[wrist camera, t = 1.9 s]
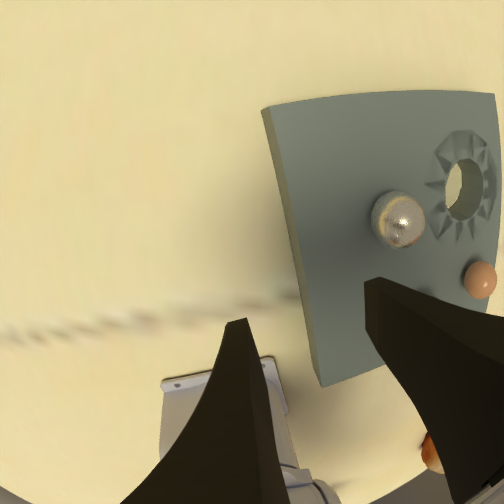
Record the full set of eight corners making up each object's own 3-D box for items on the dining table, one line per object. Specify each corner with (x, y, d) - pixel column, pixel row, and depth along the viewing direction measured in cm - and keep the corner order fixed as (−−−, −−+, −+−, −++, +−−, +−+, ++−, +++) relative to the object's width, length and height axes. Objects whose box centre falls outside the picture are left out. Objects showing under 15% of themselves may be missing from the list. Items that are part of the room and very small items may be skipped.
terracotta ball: (455, 293, 20) (477, 311, 17) (458, 260, 19) (484, 277, 16) (477, 281, 20) (499, 298, 17) (481, 250, 19) (506, 265, 16)
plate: (313, 367, 24) (321, 388, 21) (260, 110, 16) (269, 106, 13) (471, 300, 24) (485, 312, 22) (472, 93, 16) (494, 93, 14)
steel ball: (363, 243, 17) (390, 266, 14) (357, 191, 16) (388, 205, 13) (406, 230, 17) (436, 249, 14) (402, 181, 16) (436, 192, 13)
